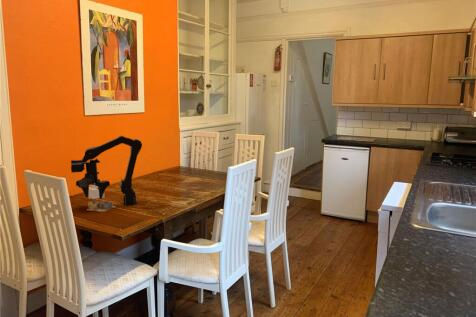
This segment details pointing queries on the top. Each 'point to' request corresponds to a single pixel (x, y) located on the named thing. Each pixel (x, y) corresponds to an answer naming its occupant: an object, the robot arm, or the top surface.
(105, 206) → the grey gear
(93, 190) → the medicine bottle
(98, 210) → the birch gear board
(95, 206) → the brass gear
